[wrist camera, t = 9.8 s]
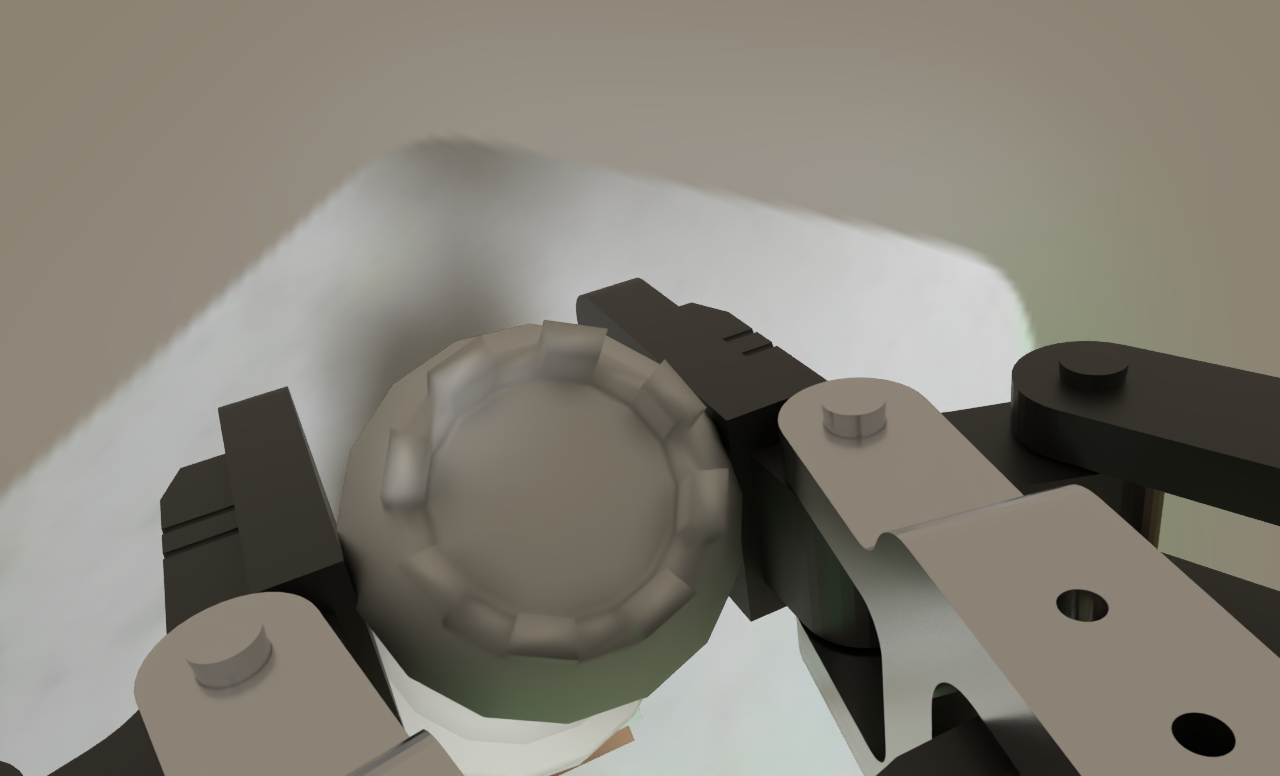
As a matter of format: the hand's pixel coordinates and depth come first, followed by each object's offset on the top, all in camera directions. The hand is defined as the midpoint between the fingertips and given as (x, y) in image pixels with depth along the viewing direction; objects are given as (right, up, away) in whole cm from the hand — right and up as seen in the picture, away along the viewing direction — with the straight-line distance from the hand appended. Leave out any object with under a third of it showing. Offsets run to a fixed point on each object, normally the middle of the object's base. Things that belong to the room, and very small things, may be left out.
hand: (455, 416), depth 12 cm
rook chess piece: (0, -3, +3) cm, 5 cm away
